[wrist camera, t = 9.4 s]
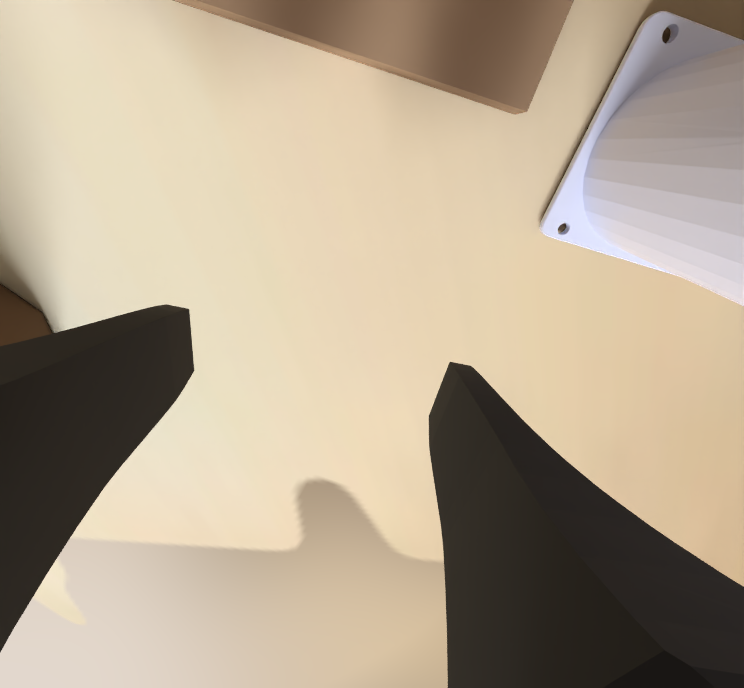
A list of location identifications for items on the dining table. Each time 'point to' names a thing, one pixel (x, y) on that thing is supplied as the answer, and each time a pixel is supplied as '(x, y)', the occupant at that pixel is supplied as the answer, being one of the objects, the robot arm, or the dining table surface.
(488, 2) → the shelf board
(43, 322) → the beer bottle
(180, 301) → the dining table surface
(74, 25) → the dining table surface
